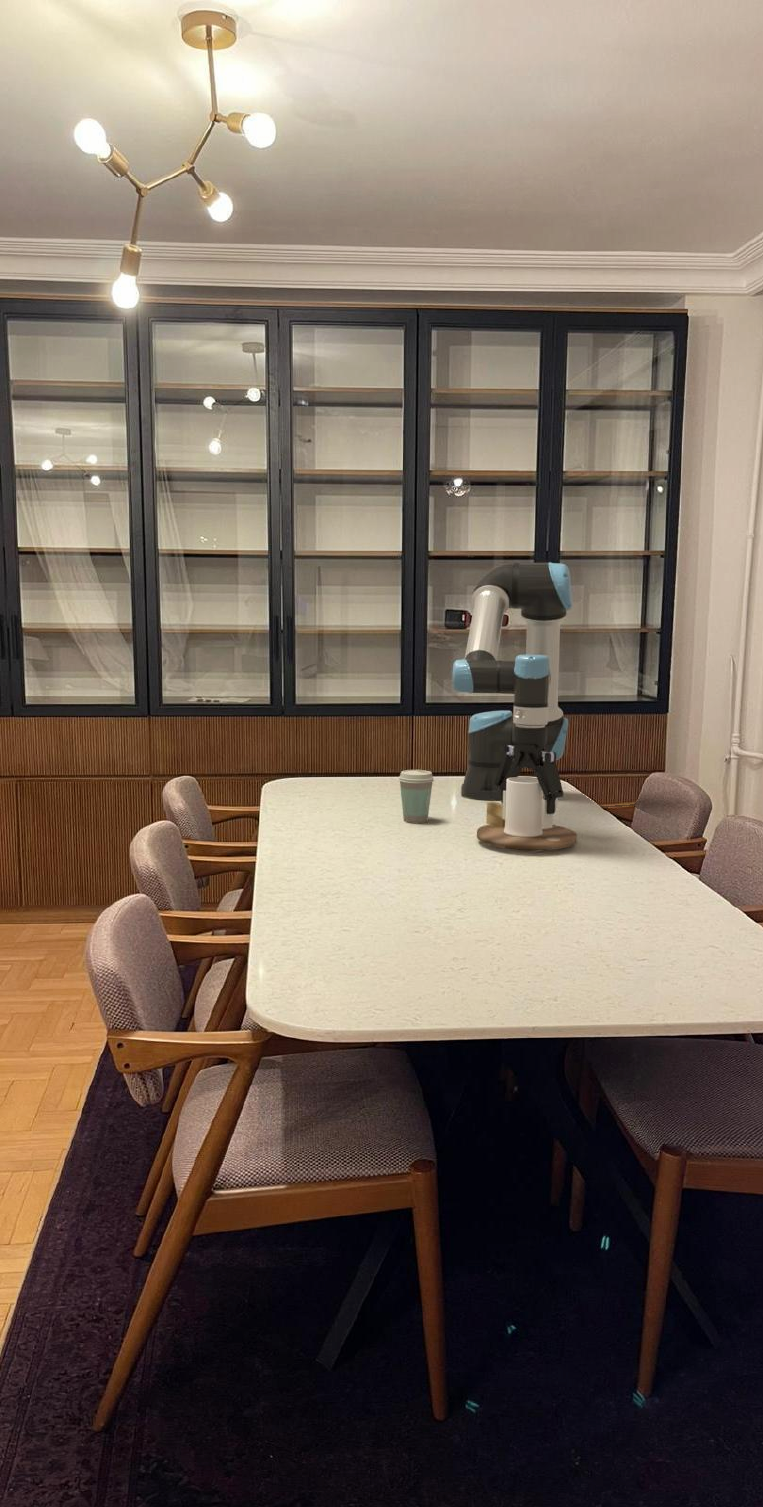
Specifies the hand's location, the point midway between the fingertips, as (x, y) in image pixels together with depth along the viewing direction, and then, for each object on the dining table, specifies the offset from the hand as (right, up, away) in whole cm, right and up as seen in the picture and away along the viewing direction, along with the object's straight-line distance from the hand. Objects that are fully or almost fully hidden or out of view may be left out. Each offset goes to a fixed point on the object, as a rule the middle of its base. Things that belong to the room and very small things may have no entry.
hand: (526, 823), depth 231 cm
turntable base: (0, -5, +1) cm, 5 cm away
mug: (+1, -2, 0) cm, 3 cm away
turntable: (0, -3, +1) cm, 3 cm away
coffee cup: (-24, -1, +23) cm, 33 cm away
